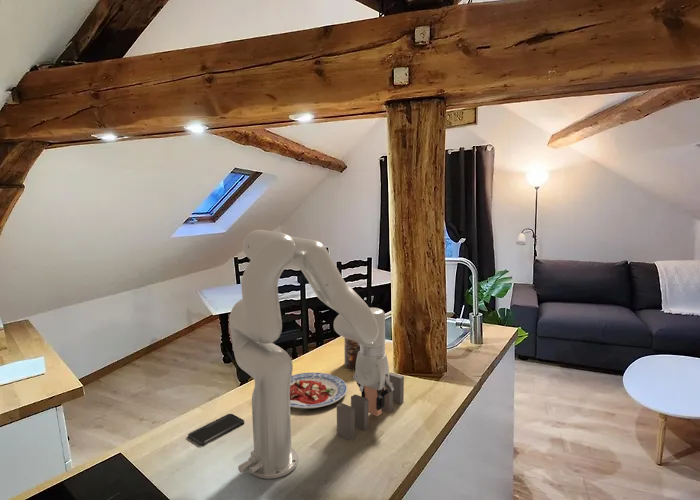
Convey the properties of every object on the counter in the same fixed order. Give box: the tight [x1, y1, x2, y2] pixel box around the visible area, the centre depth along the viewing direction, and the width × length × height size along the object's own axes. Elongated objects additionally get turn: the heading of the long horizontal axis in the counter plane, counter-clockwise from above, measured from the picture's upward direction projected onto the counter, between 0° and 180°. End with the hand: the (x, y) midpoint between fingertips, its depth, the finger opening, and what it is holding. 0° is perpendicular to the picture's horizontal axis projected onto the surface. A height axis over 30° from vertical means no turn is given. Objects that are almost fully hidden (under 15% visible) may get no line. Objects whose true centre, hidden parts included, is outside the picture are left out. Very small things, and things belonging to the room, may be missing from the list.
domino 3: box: [381, 383, 394, 413], centre depth 137 cm, size 2×5×9 cm, turn 51°
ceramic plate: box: [290, 371, 348, 409], centre depth 147 cm, size 26×26×3 cm
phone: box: [187, 413, 245, 447], centre depth 126 cm, size 8×1×15 cm
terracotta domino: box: [364, 386, 382, 417], centre depth 131 cm, size 2×5×9 cm, turn 51°
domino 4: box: [389, 372, 405, 405], centre depth 142 cm, size 2×5×9 cm, turn 51°
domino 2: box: [350, 393, 370, 431], centre depth 127 cm, size 2×5×9 cm, turn 51°
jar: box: [343, 337, 360, 372], centre depth 169 cm, size 12×12×15 cm
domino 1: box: [336, 402, 356, 442], centre depth 122 cm, size 2×5×9 cm, turn 51°
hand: (372, 404), depth 132 cm, fingers closed on terracotta domino, 4 cm apart
